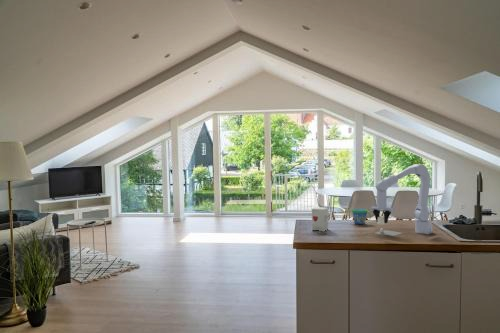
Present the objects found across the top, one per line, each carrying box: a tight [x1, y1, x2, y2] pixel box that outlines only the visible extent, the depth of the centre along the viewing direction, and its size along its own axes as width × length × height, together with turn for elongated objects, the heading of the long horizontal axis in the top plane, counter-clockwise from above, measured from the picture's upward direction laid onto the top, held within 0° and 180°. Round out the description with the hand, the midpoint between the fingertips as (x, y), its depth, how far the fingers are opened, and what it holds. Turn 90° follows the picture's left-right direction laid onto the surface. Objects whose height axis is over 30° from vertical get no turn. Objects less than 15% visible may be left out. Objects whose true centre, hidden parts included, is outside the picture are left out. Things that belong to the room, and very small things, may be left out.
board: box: [375, 228, 403, 237], centre depth 266 cm, size 13×13×4 cm
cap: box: [376, 215, 387, 225], centre depth 266 cm, size 5×5×4 cm
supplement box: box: [311, 206, 329, 232], centre depth 287 cm, size 9×9×15 cm
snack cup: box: [348, 208, 372, 225], centre depth 309 cm, size 16×10×10 cm
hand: (381, 222), depth 266 cm, fingers closed on cap, 5 cm apart
